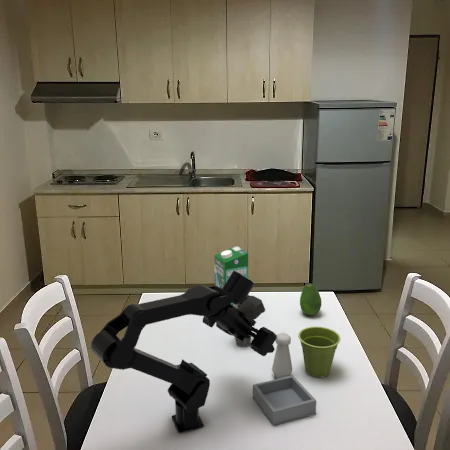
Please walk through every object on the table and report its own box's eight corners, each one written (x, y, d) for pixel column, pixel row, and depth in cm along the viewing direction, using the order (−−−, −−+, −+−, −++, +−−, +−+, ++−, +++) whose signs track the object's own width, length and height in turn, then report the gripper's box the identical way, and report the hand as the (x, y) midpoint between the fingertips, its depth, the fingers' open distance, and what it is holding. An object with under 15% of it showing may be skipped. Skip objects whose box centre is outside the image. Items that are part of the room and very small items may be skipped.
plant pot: (288, 366, 142) (290, 332, 139) (320, 356, 148) (322, 323, 145) (313, 387, 132) (315, 350, 129) (347, 375, 138) (349, 340, 135)
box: (315, 414, 121) (316, 400, 120) (273, 426, 117) (273, 411, 116) (292, 387, 132) (292, 375, 131) (252, 397, 128) (252, 384, 127)
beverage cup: (227, 346, 154) (227, 288, 148) (237, 336, 160) (238, 280, 155) (248, 351, 151) (249, 292, 145) (258, 341, 157) (258, 284, 151)
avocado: (296, 310, 179) (298, 280, 175) (317, 309, 179) (319, 279, 176) (302, 320, 171) (303, 289, 168) (323, 319, 172) (325, 288, 168)
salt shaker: (291, 383, 134) (292, 341, 131) (270, 381, 135) (271, 339, 132) (292, 371, 140) (294, 331, 136) (273, 369, 141) (274, 329, 137)
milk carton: (214, 313, 177) (214, 248, 170) (236, 308, 180) (237, 245, 174) (225, 323, 169) (224, 256, 162) (248, 318, 172) (248, 252, 166)
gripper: (272, 303, 114) (302, 331, 124) (224, 279, 129) (255, 306, 138) (246, 343, 112) (279, 368, 121) (200, 314, 126) (233, 339, 136)
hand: (261, 343), depth 129 cm, fingers open, 9 cm apart
